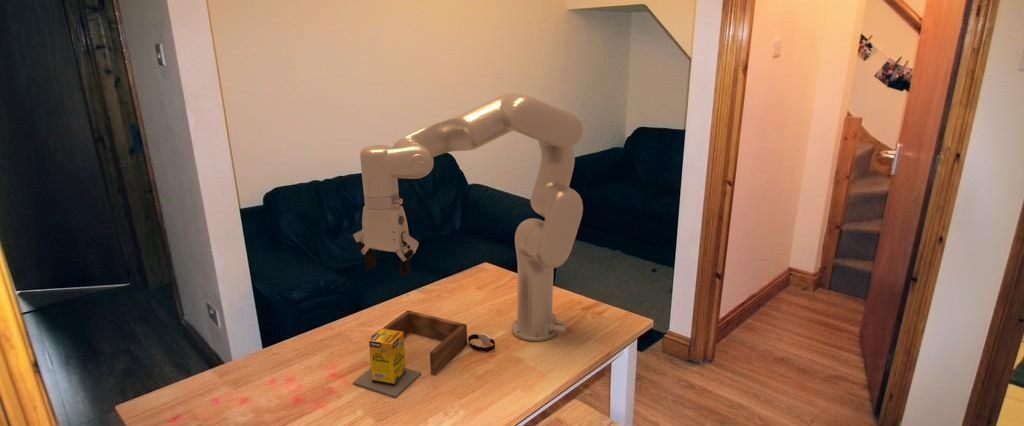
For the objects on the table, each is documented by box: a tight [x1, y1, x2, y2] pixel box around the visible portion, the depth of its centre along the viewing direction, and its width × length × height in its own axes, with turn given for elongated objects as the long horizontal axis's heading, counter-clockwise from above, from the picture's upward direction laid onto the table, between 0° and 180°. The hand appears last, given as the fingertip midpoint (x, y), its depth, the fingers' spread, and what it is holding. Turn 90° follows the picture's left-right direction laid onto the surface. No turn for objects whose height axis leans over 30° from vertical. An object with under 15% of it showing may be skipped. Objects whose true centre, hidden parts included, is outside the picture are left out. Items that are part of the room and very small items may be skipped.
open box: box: [370, 310, 468, 377], centre depth 136 cm, size 18×15×6 cm
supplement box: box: [368, 328, 407, 386], centre depth 123 cm, size 6×6×11 cm
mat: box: [352, 367, 422, 399], centre depth 125 cm, size 12×10×1 cm
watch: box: [467, 332, 496, 353], centre depth 138 cm, size 8×5×4 cm, turn 61°
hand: (388, 271), depth 125 cm, fingers open, 9 cm apart
